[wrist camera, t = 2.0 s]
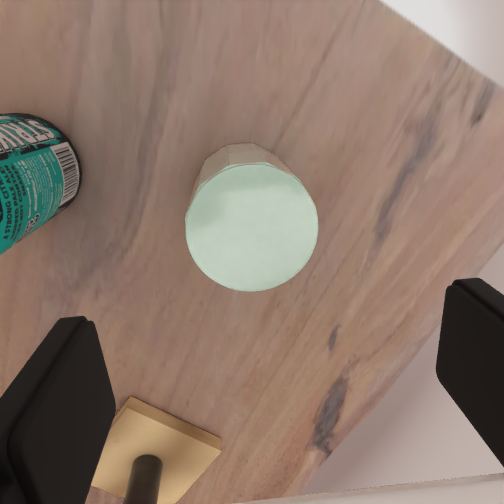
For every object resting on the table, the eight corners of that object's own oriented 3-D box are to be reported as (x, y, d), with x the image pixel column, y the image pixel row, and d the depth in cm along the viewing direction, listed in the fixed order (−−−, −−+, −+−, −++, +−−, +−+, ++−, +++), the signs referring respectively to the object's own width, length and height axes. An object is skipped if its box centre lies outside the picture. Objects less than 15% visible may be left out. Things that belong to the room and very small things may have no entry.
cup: (176, 180, 28) (157, 217, 20) (255, 123, 27) (272, 135, 19) (231, 252, 31) (236, 313, 22) (305, 202, 30) (342, 246, 21)
